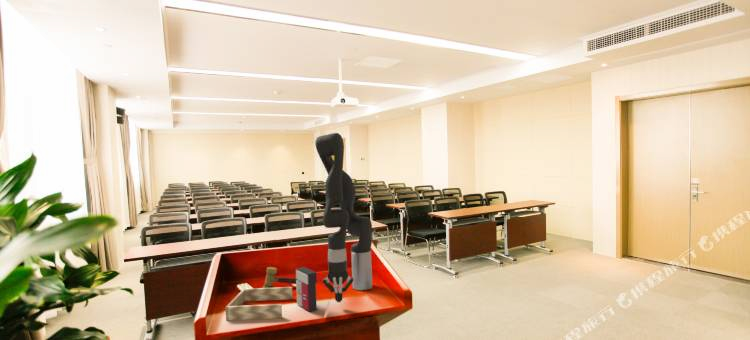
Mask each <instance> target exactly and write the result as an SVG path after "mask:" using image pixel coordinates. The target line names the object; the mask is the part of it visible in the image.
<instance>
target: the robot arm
mask: <svg viewBox="0 0 750 340" xmlns="http://www.w3.org/2000/svg"><path fill="white" fill-rule="evenodd" d="M343 139H344V138H343V137H342V135H341V134H340V133H338V132H333V133H329V134H323V135H321V136H317V137H316V138H315V141H314V142H315V149H316V151H317V154H318V156H319V159H320V160H321V162H322V164H323V166H324V169H325V171H326V173H327V175H328V176H327V178H326V180H325V185H324V188H325V189H324V191H325V207H324V211H323V216H322V224H323V225H324V227H325V228H327V229H332V228H334V229H335V228H339V230H337V231H336V232H333V233H330V234H329V235H327V236H328V237H327V245H328V246H327V248H328V250H327V264H328V266H327V267H328V270H327V271H328V273H327V275H326V277H325V278H323V279H322V283H323V284H324V286H325V287H326V288H327V289H328V290H329V291H330V293H334V297H335V299H334V300H335V301H336V303H341V302H342V301H343V293H344V292H346V291H347V290H348V289H349V287H350V286H351V285H352V289H354V290H355V291H356V290H357V291H368V290H372V289H373V271H372V269H373V268H372V266H373V265H372V243H373V224H372V223H373V222H372V221H371V219H370V217H368V216H359V215H358V216H357V214H356V213H355V209H354V208H355V207H354V203H355V199H356V193H357V191H356V186H355V185H354V182H353V179H352V177H351V176H350V175H349V174H348V173H347V172H346V171H345V170H344V169H343V168H344V157H345V156H344V153H345V145H344V144H345V143H344V140H343ZM337 205H339V207H340V209H332V208H333V207H334V206H337ZM346 233H348V234H349V235H350V236H351V237H352V236H353V237H358V242H355V243H353V244H351V245H350V252H351V253H350V254H351V257H350V258H351V274H352V275H351V276H350V274H349V272H348V260H347V255H348V254H347V246H346V244H347V243H346V236H347V235H346ZM346 280H347V281H346ZM345 282H347V283H346V284H345ZM332 284H333V285H332ZM344 284H345V285H344Z"/></svg>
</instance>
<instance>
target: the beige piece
mask: <svg viewBox="0 0 750 340" xmlns="http://www.w3.org/2000/svg"><path fill="white" fill-rule="evenodd" d="M292 299H293V287H292V286H285V287H283V286H281V287H274V288H263V287H260V288H258V287H256V288H242V289H241V291H240V292H239V293H238V294H236V296H235V297H234V298H233V299H232V300H231V301H230V302H229V303H228V304H227V305H226V306H225V307H224V308H225V320H226V321H238V320H239V321H241V320H242V321H243V320H245V321H246V320H265V319H267V320H268V319H282V318H283V309H282V303H276V304H274V303H273V304H272V303H271V304H251V305H250V304H249V305H247V304H246V305H245V304H244V303H245V302H246V301H247V302H248V301H249V302H250V301H252V302H253V301H259V302H260V301H279V300H280V301H281V300H283V301H284V300H292Z"/></svg>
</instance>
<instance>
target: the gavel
mask: <svg viewBox="0 0 750 340" xmlns="http://www.w3.org/2000/svg"><path fill="white" fill-rule="evenodd" d="M277 272H278V269H277V267H272V266H269V267H268V266H267V268H266V275H265V280H264V284H263V286H262V288H275V287H274V284H275V283H280V284H281V283H282V284H293V285H296V280H297V279H296V277H295V278H294V277H283V276H276V274H277Z"/></svg>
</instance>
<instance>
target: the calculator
mask: <svg viewBox="0 0 750 340" xmlns="http://www.w3.org/2000/svg"><path fill="white" fill-rule="evenodd" d="M295 278H296V279H297V280H296V284H295V288H296V289H295V292H296V304H297V305H298V306H300V307H301V308H303V309H305V310H306V311H307V312H314V311H317V309H318V308H317V307H318V306H317V289H316V287H317V282H318V281H317V280H318V278H317V272H316V271H313V270H312V269H309V268H307V267H305V266H303V267H299V268H298V267H297V268H296V269H295Z"/></svg>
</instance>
